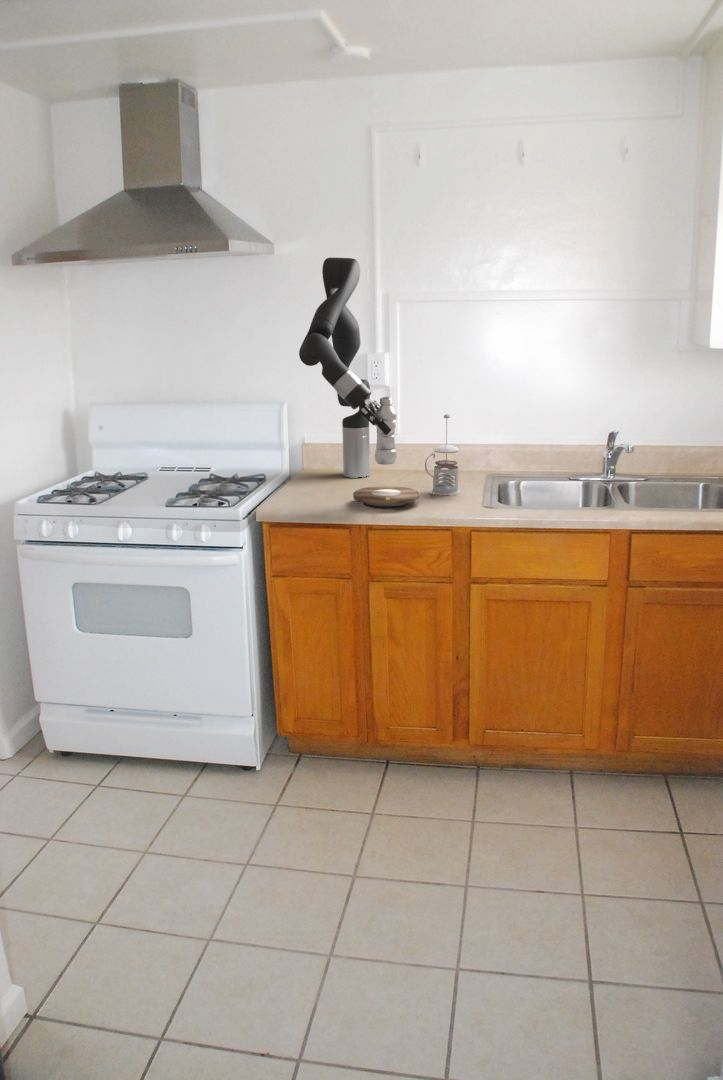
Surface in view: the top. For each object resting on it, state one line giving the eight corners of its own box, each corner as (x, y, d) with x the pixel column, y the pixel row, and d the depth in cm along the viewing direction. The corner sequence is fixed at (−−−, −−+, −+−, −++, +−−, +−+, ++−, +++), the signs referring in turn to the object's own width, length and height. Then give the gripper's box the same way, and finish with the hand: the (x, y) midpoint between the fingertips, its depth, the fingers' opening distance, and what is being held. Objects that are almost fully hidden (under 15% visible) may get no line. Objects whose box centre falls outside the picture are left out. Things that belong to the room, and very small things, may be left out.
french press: (459, 496, 278) (461, 416, 271) (422, 494, 280) (423, 415, 273) (462, 489, 287) (464, 412, 280) (426, 488, 289) (427, 411, 282)
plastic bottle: (391, 462, 271) (391, 396, 265) (400, 465, 264) (400, 398, 259) (371, 463, 268) (371, 397, 263) (380, 467, 262) (380, 399, 257)
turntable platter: (352, 490, 278) (352, 486, 278) (416, 489, 279) (416, 484, 279) (354, 505, 259) (353, 500, 259) (422, 504, 260) (422, 499, 259)
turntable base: (362, 498, 276) (362, 492, 276) (407, 497, 277) (407, 492, 276) (363, 509, 263) (363, 503, 262) (411, 508, 263) (411, 502, 263)
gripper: (355, 383, 255) (395, 425, 255) (366, 378, 268) (404, 418, 269) (337, 401, 257) (377, 443, 258) (349, 395, 271) (387, 435, 271)
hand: (391, 430), depth 263 cm, fingers closed on plastic bottle, 6 cm apart
